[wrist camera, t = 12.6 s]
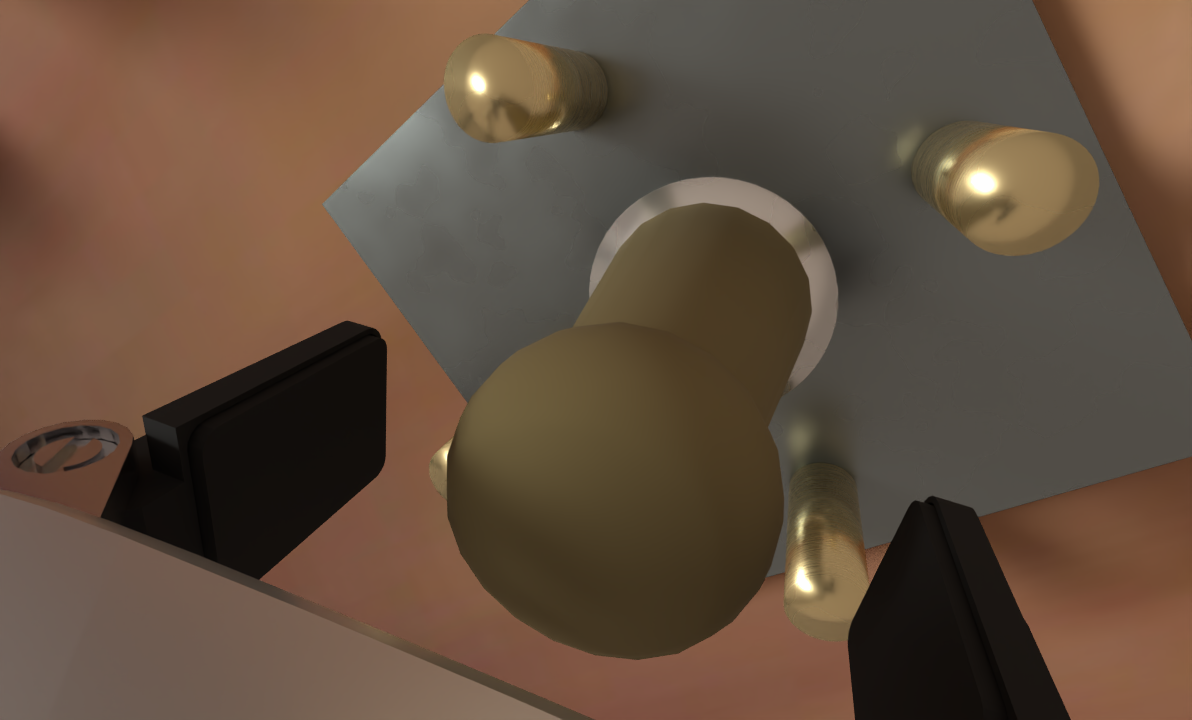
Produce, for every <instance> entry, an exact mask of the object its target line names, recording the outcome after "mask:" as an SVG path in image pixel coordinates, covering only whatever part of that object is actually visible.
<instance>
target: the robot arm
mask: <svg viewBox="0 0 1192 720" xmlns="http://www.w3.org/2000/svg"><path fill="white" fill-rule="evenodd" d="M386 380H387V345H386V342H385V341H384V340H383V339H381V336H380V333H379V332H378V331H377V330H376V329H374V328H371V327H367V326H364V325H361V324H357V323H354V322H350V321H344V322H341V323H339V324H337V325H335V326H333V327H331V328H329V329H327V330H324V331H322V332H320V333H318V334H316V335H314V336H312V337H309V338H307V339H305V340H303V341H301V342H299V343H297V344H295V345H292V346H290V347H288V348H286V349H284V350H282V351H280V352H277V353H275V354H273V355H271V356H269V357H267V358H265V359H263V360H260V361H258V362H256V363H254V364H252V365H250V366H248V367H245V368H243V369H241V370H239V371H237V372H235V373H233V374H231V375H228V376H226V377H224V378H222V379H220V380H218V381H216V382H213V383H211V384H209V385H207V386H205V387H203V388H201V389H199V390H196V391H194V392H192V393H190V394H188V395H186V396H184V397H181V398H179V399H177V400H175V401H173V402H171V403H169V404H167V405H164V406H162V407H160V408H158V409H156V410H154V411H152V412H149V413H147V414H145V415H143V416H142V417H143V422H144V427H145V433H146V435H144V436H142V437H140V438H138V439H136V440H134V437H133V434H132V433H131V431H130V430H129V429H128V428H127V427H125V426H123V425H121V424H119V423H116V422H111V421H105V420H79V421H70V422H63V423H59V424H55V425H51V426H47V427H43V428H40V429H38V430H35V431H32V432H30V433H27V434H24V435H23V436H21V437H19V438H17V439H16V440H14V441H12V442H10V443H9V444H8V445H7V446H6V447H4V448H3V449H2V450H1V451H0V720H594V719H592V718H589V717H587V716H585V715H582V714H580V713H578V712H575V711H573V710H571V709H568V708H566V707H563V706H561V705H559V704H556V703H554V702H552V701H549V700H547V699H544V698H542V697H540V696H537V695H535V694H533V693H530V692H528V691H525V690H523V689H521V688H518V687H516V686H513V685H511V684H509V683H506V682H504V681H501V680H499V679H497V678H494V677H492V676H489V675H487V674H485V673H482V672H480V671H478V670H475V669H473V668H470V667H468V666H466V665H463V664H461V663H458V662H456V661H454V660H451V659H449V658H446V657H444V656H442V655H439V654H437V653H434V652H432V651H430V650H427V649H425V648H422V647H420V646H418V645H415V644H413V643H410V642H408V641H406V640H403V639H401V638H398V637H396V636H394V635H391V634H389V633H386V632H384V631H381V630H379V629H377V628H374V627H372V626H369V625H367V624H365V623H362V622H360V621H357V620H355V619H353V618H350V617H348V616H345V615H343V614H341V613H338V612H336V611H333V610H331V609H328V608H326V607H323V606H321V605H319V604H316V603H314V602H311V601H309V600H306V599H304V598H301V597H299V596H297V595H294V594H292V593H289V592H287V591H284V590H282V589H280V588H277V587H275V586H272V585H270V584H267V583H265V582H262V581H260V580H259V579H260V578H262V577H263V576H264V575H265V574H266V573H267V572H268V571H270V570H271V569H272V568H273V567H274V566H275V565H276V564H277V563H279V562H280V561H281V560H282V559H283V558H284V557H285V556H287V555H288V554H289V553H290V552H291V551H292V550H293V549H295V548H296V547H297V546H298V545H299V544H300V543H301V542H303V541H304V540H305V539H306V538H307V537H308V536H309V535H311V534H312V533H313V532H314V531H315V530H316V529H317V528H319V527H320V526H321V525H322V524H323V523H324V522H325V521H327V520H328V519H329V518H330V517H331V516H332V515H333V514H335V513H336V512H337V511H338V510H339V509H340V508H341V507H343V506H344V505H345V504H346V503H347V502H348V501H349V500H351V499H352V498H353V497H354V496H355V495H356V494H357V493H359V492H360V491H361V490H362V489H363V488H364V487H365V486H366V485H368V484H369V483H370V482H371V481H372V480H373V479H374V478H376V477H377V476H378V474H379V473H380V472H381V470H382V468H383V466H384V463H385V457H386ZM848 652H849V662H850V672H851V682H852V692H853V703H854V713H855V720H1071V719H1070V717H1069V715H1068V713H1067V710H1066V708H1065V706H1064V704H1063V701H1062V699H1061V697H1060V695H1059V693H1058V690H1057V688H1056V686H1055V684H1054V682H1053V679H1052V677H1051V675H1050V673H1049V671H1048V668H1047V666H1046V664H1045V662H1044V659H1043V657H1042V655H1041V653H1040V651H1039V648H1038V646H1037V644H1036V642H1035V640H1034V637H1033V635H1032V633H1031V631H1030V628H1029V626H1028V625H1027V623H1026V621H1025V620H1024V618H1023V616H1022V614H1021V612H1020V609H1019V607H1018V605H1017V603H1016V601H1015V598H1014V596H1013V594H1012V592H1011V589H1010V587H1009V585H1008V583H1007V581H1006V578H1005V576H1004V574H1003V572H1002V569H1001V567H1000V565H999V563H998V561H997V558H996V556H995V554H994V552H993V549H992V547H991V545H990V543H989V541H988V538H987V536H986V534H985V532H984V529H983V527H982V525H981V523H980V520H979V518H978V516H977V514H976V512H975V510H974V509H973V508H971V507H969V506H965V505H962V504H959V503H955V502H952V501H949V500H945V499H942V498H939V497H935V496H930V497H928V498H927V499H926V500H925V501H924V503H923V502H920V501H916V500H915V501H913V502H912V503H911V504H910V506H909V507H908V509H907V511H906V513H905V515H904V517H903V519H902V521H901V523H900V525H899V527H898V529H897V531H896V533H895V535H894V537H893V539H892V541H891V543H890V545H889V547H888V549H887V551H886V553H885V555H884V557H883V559H882V561H881V563H880V565H879V567H878V569H877V571H876V573H875V575H874V578H873V580H872V582H871V584H870V586H869V588H868V590H867V592H866V594H865V596H864V598H863V600H862V602H861V604H860V606H859V608H858V610H857V612H856V614H855V616H854V618H853V620H852V622H851V625H850V629H849V634H848Z"/></svg>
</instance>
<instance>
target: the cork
mask: <svg viewBox="0 0 1192 720" xmlns="http://www.w3.org/2000/svg"><path fill="white" fill-rule="evenodd" d="M811 314H812V306H811V295H810V285H809V278H808V276H807V274H806V272H805V270H804V268H803V265H802V263H801V261H800V259H799V257H798V255H797V253H796V251H795V249H794V247H793V246H792V245H791V244H790V243H789V242H788V241H787V240H786V239H785V238H784V237H783V236H782V235H781V234H780V233H779V232H778V231H777V230H776V229H775V228H774V227H773V226H772V225H771V224H770V223H768V222H766V221H764V220H762V219H760V218H758V217H756V216H754V215H752V214H750V213H748V212H746V211H744V210H742V209H740V208H738V207H731V206H724V205H717V204H710V203H698V204H692V205H687V206H681V207H675V208H670V209H668V210H666V211H664V212H662V213H661V214H659V215H657V216H655V217H653V218H652V219H650V220H648V221H646V222H644V223H642V224H641V225H640V226H639V227H638V228H637V229H636V230H635V231H634V232H633V233H632V235H631V236H630V237H629V238H628V239H627V240H626V241H625V242H624V243H623V244H622V245H621V247H620V248H619V249H618V251H617V253H616V254H615V256H614V258H613V260H612V261H611V263H610V265H609V266H608V268H607V270H606V271H605V273H604V275H603V276H602V278H601V280H600V282H599V283H598V285H597V287H596V288H595V290H594V292H593V293H592V295H591V297H590V298H589V300H588V302H587V303H586V305H585V307H584V309H583V310H582V312H581V314H580V315H579V317H578V319H577V320H576V322H575V324H574V325H573V327H572V328H568V329H564V330H560V331H557V332H555V333H553V334H551V335H549V336H547V337H545V338H543V339H541V340H538V341H536V342H534V343H532V344H530V345H528V346H526V347H524V348H522V349H520V350H518V351H517V352H515V353H514V354H513V355H512V356H510V357H509V358H508V359H507V360H505V361H504V362H503V363H502V364H501V365H500V366H499V367H498V368H497V369H496V370H495V371H494V372H493V373H492V374H491V375H490V377H489V378H488V379H487V380H486V381H485V382H484V383H483V384H482V385H481V387H480V388H479V389H478V390H477V391H476V392H475V393H474V394H473V395H472V396H471V398H470V400H469V402H468V404H467V406H466V408H465V410H464V412H463V414H462V416H461V417H460V420H459V423H458V426H457V429H456V431H455V434H454V437H453V440H452V443H451V446H450V448H449V451H448V454H447V512H448V519H449V522H450V525H451V528H452V531H453V533H454V536H455V539H456V542H457V545H458V548H459V550H460V553H461V555H462V557H463V558H464V559H465V561H466V562H467V564H468V565H469V567H470V568H471V570H472V571H473V573H474V574H475V576H476V577H477V579H478V580H479V582H480V583H481V584H482V586H483V587H484V589H485V590H486V591H488V592H489V593H490V594H491V595H492V596H493V597H494V598H495V599H496V600H497V601H498V602H499V603H500V604H501V605H503V606H504V607H505V608H506V609H507V610H508V611H509V612H510V613H511V614H512V615H513V616H514V617H515V618H517V619H519V620H520V621H522V622H523V623H525V624H527V625H528V626H530V627H532V628H533V629H535V630H537V631H538V632H540V633H542V634H543V635H545V636H547V637H548V638H550V639H552V640H553V641H556V642H559V643H562V644H564V645H567V646H570V647H573V648H576V649H579V650H582V651H585V652H587V653H590V654H593V655H598V656H607V657H616V658H625V659H635V660H640V659H646V658H652V657H659V656H665V655H671V654H678V653H680V652H682V651H684V650H686V649H687V648H689V647H691V646H693V645H695V644H697V643H699V642H701V641H703V640H705V639H706V638H708V637H710V636H712V635H714V634H715V633H717V632H718V631H720V630H721V629H722V628H724V627H725V626H727V625H728V624H730V623H731V622H733V620H734V619H735V618H736V617H737V616H738V614H739V613H740V612H741V611H742V610H743V608H744V607H745V606H746V605H747V604H748V603H749V601H750V600H751V599H752V598H753V597H754V595H755V594H756V593H757V592H758V591H759V589H760V587H761V585H762V583H763V581H764V579H765V577H766V575H767V573H768V571H769V569H770V567H771V565H772V561H773V558H774V554H775V550H776V547H777V543H778V540H779V536H780V533H781V529H782V525H783V518H784V492H783V484H782V477H781V469H780V461H779V453H778V449H777V446H776V444H775V442H774V440H773V437H772V435H771V433H770V431H769V429H768V426H769V424H770V422H771V419H772V417H773V415H774V412H775V410H776V408H777V405H778V403H779V401H780V398H781V396H782V394H783V391H784V389H785V387H786V384H787V382H788V379H789V377H790V375H791V372H792V370H793V368H794V365H795V363H796V361H797V358H798V356H799V354H800V351H801V349H802V347H803V344H804V342H805V338H806V334H807V330H808V326H809V322H810V318H811Z"/></svg>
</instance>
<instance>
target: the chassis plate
mask: <svg viewBox="0 0 1192 720" xmlns="http://www.w3.org/2000/svg"><path fill="white" fill-rule="evenodd" d="M698 203H710V204H717V205H724V206H731V207H738V208H740V209H742V210H744V211H746V212H748V213H750V214H752V215H754V216H756V217H758V218H760V219H762V220H764V221H766V222H768V223H770V224H771V225H772V226H773V227H774V228H775V229H776V230H777V231H778V232H779V233H780V234H781V235H782V236H783V237H784V238H785V239H786V240H787V241H788V242H789V243H790V244H791V245H792V246H793V247H794V249H795V251H796V253H797V255H798V257H799V259H800V261H801V263H802V265H803V268H804V270H805V272H806V274H807V276H808V278H809V285H810V295H811V306H812V314H811V318H810V322H809V326H808V330H807V334H806V338H805V342H804V344H803V347H802V349H801V351H800V354H799V356H798V358H797V361H796V363H795V365H794V368H793V370H792V372H791V375H790V377H789V379H788V382H787V384H786V387H785V389H784V391H783V394H782V396H781V398H780V401H779V403H778V405H777V408H776V410H775V412H774V415H773V417H772V419H771V422H770V424H769V426H768V429H769V431H770V433H771V435H772V437H773V440H774V442H775V444H776V446H777V449H778V453H779V461H780V469H781V477H782V484H783V492H784V518H783V525H782V529H781V533H780V536H779V540H778V543H777V547H776V550H775V554H774V558H773V561H772V565H771V567H770V569H769V571H768V573H767V575H766V577H769V576H773V575H776V574H780V573H783V572H785V585H784V609H785V613H786V615H787V617H788V619H789V620H790V621H791V623H792V624H793V625H794V626H795V627H797V628H798V629H799V630H800V631H802V632H803V633H805V634H807V635H809V636H812V637H814V638H817V639H821V640H825V641H846V640H848V634H849V629H850V625H851V622H852V620H853V618H854V616H855V614H856V612H857V610H858V608H859V606H860V604H861V602H862V600H863V598H864V596H865V594H866V592H867V590H868V588H869V578H868V570H867V563H866V555H865V549H868V548H871V547H875V546H878V545H882V544H885V543H889V542H891V541H892V539H893V537H894V535H895V533H896V531H897V529H898V527H899V525H900V523H901V521H902V519H903V517H904V515H905V513H906V511H907V509H908V507H909V506H910V504H911V503H912V502H913V501H915V500H916V501H920V502H923V503H924V501H925V500H926V499H927V498H928V497H930V496H935V497H939V498H942V499H945V500H949V501H952V502H955V503H959V504H962V505H965V506H969V507H971V508H973V509H974V510H975V512H976V514H977V516H978V517H980V516H984V515H987V514H991V513H994V512H998V511H1001V510H1005V509H1009V508H1012V507H1016V506H1019V505H1023V504H1026V503H1030V502H1033V501H1037V500H1040V499H1044V498H1047V497H1051V496H1054V495H1058V494H1061V493H1065V492H1068V491H1072V490H1075V489H1079V488H1082V487H1086V486H1089V485H1093V484H1096V483H1100V482H1103V481H1107V480H1111V479H1114V478H1118V477H1121V476H1125V475H1128V474H1132V473H1135V472H1139V471H1142V470H1146V469H1149V468H1153V467H1156V466H1160V465H1163V464H1167V463H1170V462H1174V461H1177V460H1181V459H1184V458H1188V457H1191V456H1192V340H1191V338H1190V336H1189V334H1188V332H1187V330H1186V328H1185V325H1184V323H1183V321H1182V319H1181V317H1180V315H1179V313H1178V310H1177V308H1176V306H1175V304H1174V302H1173V300H1172V298H1171V296H1170V293H1169V291H1168V289H1167V287H1166V285H1165V283H1164V281H1163V279H1162V276H1161V274H1160V272H1159V270H1158V268H1157V266H1156V264H1155V261H1154V259H1153V257H1152V255H1151V253H1150V251H1149V249H1148V247H1147V244H1146V242H1145V240H1144V238H1143V236H1142V234H1141V232H1140V229H1139V227H1138V225H1137V223H1136V221H1135V219H1134V217H1133V215H1132V212H1131V210H1130V208H1129V206H1128V204H1127V202H1126V200H1125V197H1124V195H1123V193H1122V191H1121V189H1120V187H1119V185H1118V183H1117V180H1116V178H1115V176H1114V174H1113V172H1112V170H1111V168H1110V165H1109V163H1108V161H1107V159H1106V157H1105V155H1104V153H1103V151H1102V148H1101V146H1100V144H1099V142H1098V140H1097V138H1096V136H1095V133H1094V131H1093V129H1092V127H1091V125H1090V123H1089V121H1088V119H1087V116H1086V114H1085V112H1084V110H1083V108H1082V106H1081V104H1080V101H1079V99H1078V97H1077V95H1076V93H1075V91H1074V89H1073V87H1072V84H1071V82H1070V80H1069V78H1068V76H1067V74H1066V72H1065V70H1064V67H1063V65H1062V63H1061V61H1060V59H1059V57H1058V55H1057V52H1056V50H1055V48H1054V46H1053V44H1052V42H1051V40H1050V38H1049V35H1048V33H1047V31H1046V29H1045V27H1044V25H1043V23H1042V20H1041V18H1040V16H1039V14H1038V12H1037V10H1036V8H1035V6H1034V3H1033V1H1032V0H529V1H528V2H527V3H526V4H525V5H524V6H523V7H522V8H521V9H520V10H519V11H518V12H517V13H516V14H515V15H514V16H513V17H512V18H511V19H509V20H508V21H507V22H506V23H505V24H504V25H503V26H502V27H501V28H500V29H499V30H498V31H497V32H496V33H495V34H494V35H493V34H478V35H474V36H472V37H469V38H467V39H466V40H464V41H463V42H462V43H460V44H459V45H458V46H457V48H456V49H455V50H454V51H453V53H452V55H451V56H450V58H449V61H448V63H447V66H446V70H445V75H444V85H443V86H442V87H441V88H440V89H439V90H438V91H436V92H435V93H434V94H433V95H432V96H431V97H430V98H429V99H428V100H427V101H426V102H425V103H424V104H423V105H422V106H421V107H420V108H419V109H418V110H417V111H416V112H415V113H414V114H413V115H412V116H411V117H410V118H409V119H408V120H407V121H406V122H405V123H404V124H403V125H402V126H401V127H400V128H399V129H398V130H397V131H396V132H395V133H394V134H393V135H392V136H391V137H390V138H389V139H388V140H387V141H386V142H385V143H384V144H383V145H382V146H381V147H380V148H379V149H378V150H377V151H376V152H375V153H374V154H373V155H372V156H371V157H370V158H369V159H368V160H367V161H366V162H364V163H363V164H362V165H361V166H360V167H359V168H358V169H357V170H356V171H355V172H354V173H353V174H352V175H351V176H350V177H349V178H348V179H347V180H346V181H345V182H344V183H343V184H342V185H341V186H340V187H339V188H338V189H337V190H336V191H335V192H334V193H333V194H332V195H331V196H330V197H329V198H328V199H327V200H326V201H325V202H324V203H323V204H322V205H323V206H324V207H325V209H326V210H327V211H328V213H329V214H330V216H331V217H332V218H333V220H334V221H335V222H336V224H337V225H338V226H339V228H340V229H341V231H342V232H343V233H344V235H345V236H346V237H347V239H348V240H349V242H350V243H351V244H352V246H353V247H354V248H355V250H356V251H357V252H358V254H359V255H360V257H361V258H362V259H363V261H364V262H365V263H366V265H367V266H368V267H369V269H370V270H371V272H372V273H373V274H374V276H375V277H376V278H377V280H378V281H379V282H380V284H381V285H382V287H383V288H384V289H385V291H386V292H387V293H388V295H389V296H390V298H391V299H392V300H393V302H394V303H395V304H396V306H397V307H398V308H399V310H400V311H401V313H402V314H403V315H404V317H405V318H406V319H407V321H408V322H409V323H410V325H411V326H412V328H413V329H414V330H415V332H416V333H417V334H418V336H419V337H420V339H421V340H422V341H423V343H424V344H425V345H426V347H427V348H428V349H429V351H430V352H431V354H432V355H433V356H434V358H435V359H436V360H437V362H438V363H439V364H440V366H441V367H442V369H443V370H444V371H445V373H446V374H447V375H448V377H449V378H450V380H451V381H452V382H453V384H454V385H455V386H456V388H457V389H458V390H459V392H460V393H461V395H462V396H463V397H464V399H465V400H466V401H467V403H468V402H469V400H470V398H471V396H472V395H473V394H474V393H475V392H476V391H477V390H478V389H479V388H480V387H481V385H482V384H483V383H484V382H485V381H486V380H487V379H488V378H489V377H490V375H491V374H492V373H493V372H494V371H495V370H496V369H497V368H498V367H499V366H500V365H501V364H502V363H503V362H504V361H505V360H507V359H508V358H509V357H510V356H512V355H513V354H514V353H515V352H517V351H518V350H520V349H522V348H524V347H526V346H528V345H530V344H532V343H534V342H536V341H538V340H541V339H543V338H545V337H547V336H549V335H551V334H553V333H555V332H557V331H560V330H564V329H568V328H572V327H573V325H574V324H575V322H576V320H577V319H578V317H579V315H580V314H581V312H582V310H583V309H584V307H585V305H586V303H587V302H588V300H589V298H590V297H591V295H592V293H593V292H594V290H595V288H596V287H597V285H598V283H599V282H600V280H601V278H602V276H603V275H604V273H605V271H606V270H607V268H608V266H609V265H610V263H611V261H612V260H613V258H614V256H615V254H616V253H617V251H618V249H619V248H620V247H621V245H622V244H623V243H624V242H625V241H626V240H627V239H628V238H629V237H630V236H631V235H632V233H633V232H634V231H635V230H636V229H637V228H638V227H639V226H640V225H641V224H642V223H644V222H646V221H648V220H650V219H652V218H653V217H655V216H657V215H659V214H661V213H662V212H664V211H666V210H668V209H670V208H675V207H681V206H687V205H692V204H698ZM453 437H454V436H453ZM453 437H452V438H451V439H450V440H449V441H448V442H447V443H446V444H445V445H444V446H443V447H442V448H441V449H440V450H439V451H437V452H436V453H435V454H434V456H433V457H432V459H431V461H430V465H429V473H430V478H431V481H432V483H433V485H434V487H435V488H436V490H437V491H438V492H439V493H440V495H441V496H442V497H443V498H445V499H446V500H447V454H448V451H449V448H450V446H451V443H452V440H453ZM766 577H765V578H766Z"/></svg>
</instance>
